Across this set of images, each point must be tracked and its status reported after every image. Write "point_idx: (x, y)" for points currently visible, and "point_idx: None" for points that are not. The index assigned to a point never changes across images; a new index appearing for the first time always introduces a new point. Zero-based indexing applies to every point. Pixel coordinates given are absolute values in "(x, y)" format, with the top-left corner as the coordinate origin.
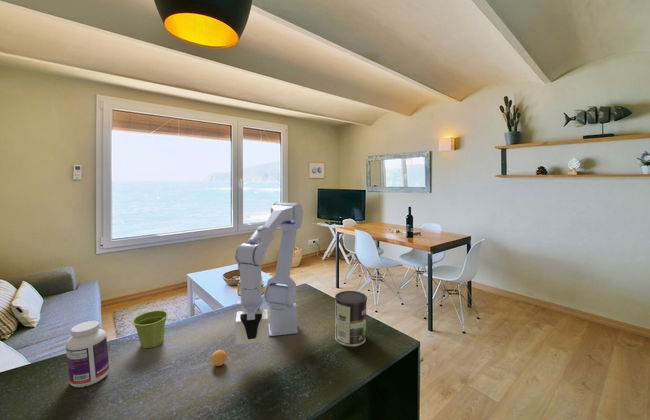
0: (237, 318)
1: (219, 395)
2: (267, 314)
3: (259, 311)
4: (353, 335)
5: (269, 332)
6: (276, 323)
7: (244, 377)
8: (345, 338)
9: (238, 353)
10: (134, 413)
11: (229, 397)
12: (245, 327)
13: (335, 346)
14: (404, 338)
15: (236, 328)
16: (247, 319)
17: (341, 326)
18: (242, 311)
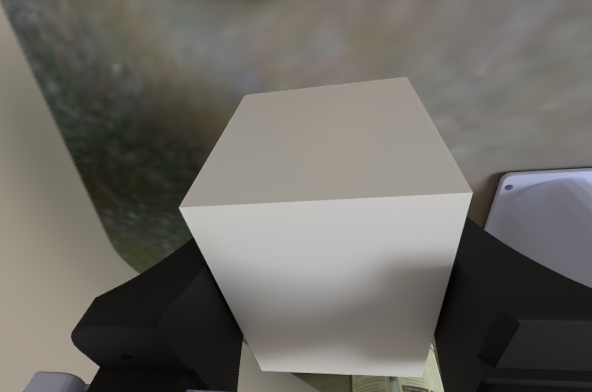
0: (261, 217)
1: (96, 7)
2: (327, 372)
3: (392, 348)
4: (349, 377)
5: (531, 176)
6: (530, 240)
7: (216, 96)
8: None
9: (401, 33)
10: None
11: (100, 56)
12: (179, 250)
13: None
14: None
15: (208, 167)
16: (31, 381)
17: (369, 389)
18: (447, 248)
